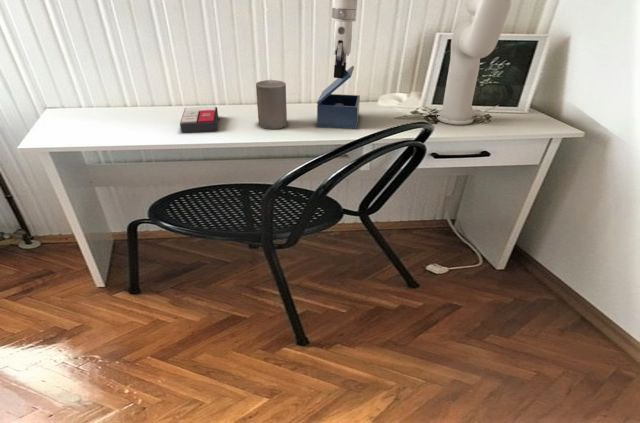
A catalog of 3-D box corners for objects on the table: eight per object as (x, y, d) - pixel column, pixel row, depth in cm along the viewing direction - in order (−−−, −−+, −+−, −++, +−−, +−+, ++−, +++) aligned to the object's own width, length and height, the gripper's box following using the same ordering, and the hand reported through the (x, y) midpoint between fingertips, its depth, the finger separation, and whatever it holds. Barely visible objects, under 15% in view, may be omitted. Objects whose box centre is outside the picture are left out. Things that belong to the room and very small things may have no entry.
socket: (343, 117, 143) (344, 103, 140) (342, 120, 140) (343, 105, 137) (334, 117, 143) (334, 102, 140) (333, 120, 140) (333, 105, 138)
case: (358, 115, 147) (359, 95, 143) (356, 129, 135) (357, 107, 131) (322, 113, 149) (323, 93, 145) (317, 126, 136) (317, 105, 133)
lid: (354, 67, 139) (344, 55, 137) (351, 76, 126) (340, 63, 125) (323, 93, 145) (314, 82, 143) (318, 104, 132) (307, 92, 131)
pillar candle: (252, 125, 137) (248, 79, 129) (272, 118, 144) (270, 74, 136) (273, 131, 132) (271, 84, 124) (293, 123, 139) (292, 78, 131)
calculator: (179, 121, 128) (184, 105, 140) (181, 134, 130) (186, 117, 143) (214, 120, 130) (216, 104, 142) (216, 133, 132) (218, 116, 144)
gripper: (354, 18, 117) (348, 82, 126) (357, 13, 132) (352, 71, 141) (328, 16, 118) (324, 80, 127) (334, 12, 132) (331, 70, 142)
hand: (339, 75), depth 134 cm, fingers closed on lid, 5 cm apart
